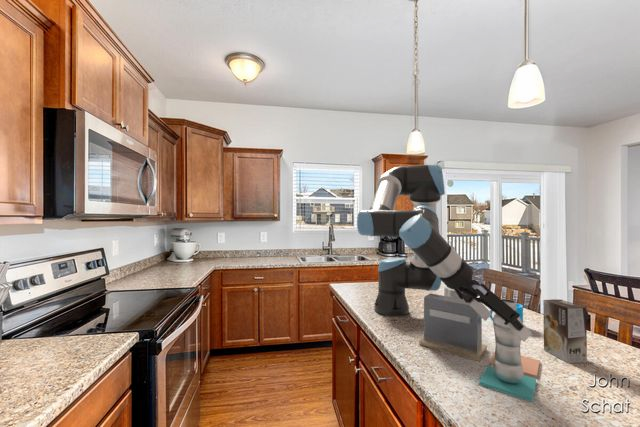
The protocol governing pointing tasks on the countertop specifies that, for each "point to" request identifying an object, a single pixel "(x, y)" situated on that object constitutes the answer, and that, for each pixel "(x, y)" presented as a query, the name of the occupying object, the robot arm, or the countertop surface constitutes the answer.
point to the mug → (519, 310)
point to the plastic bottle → (507, 350)
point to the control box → (452, 327)
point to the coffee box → (565, 330)
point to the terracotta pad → (526, 365)
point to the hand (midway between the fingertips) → (505, 326)
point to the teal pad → (509, 385)
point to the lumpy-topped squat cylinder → (450, 292)
